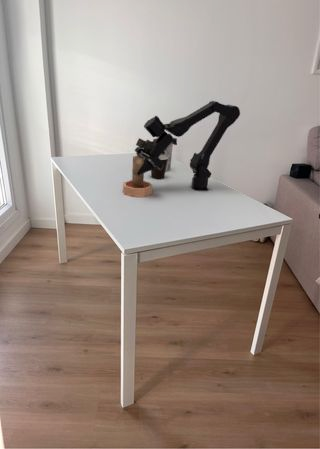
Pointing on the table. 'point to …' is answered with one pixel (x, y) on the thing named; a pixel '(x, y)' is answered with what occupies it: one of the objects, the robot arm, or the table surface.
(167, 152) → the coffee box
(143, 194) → the terracotta dish
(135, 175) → the walnut peg
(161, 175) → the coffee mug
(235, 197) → the table surface
